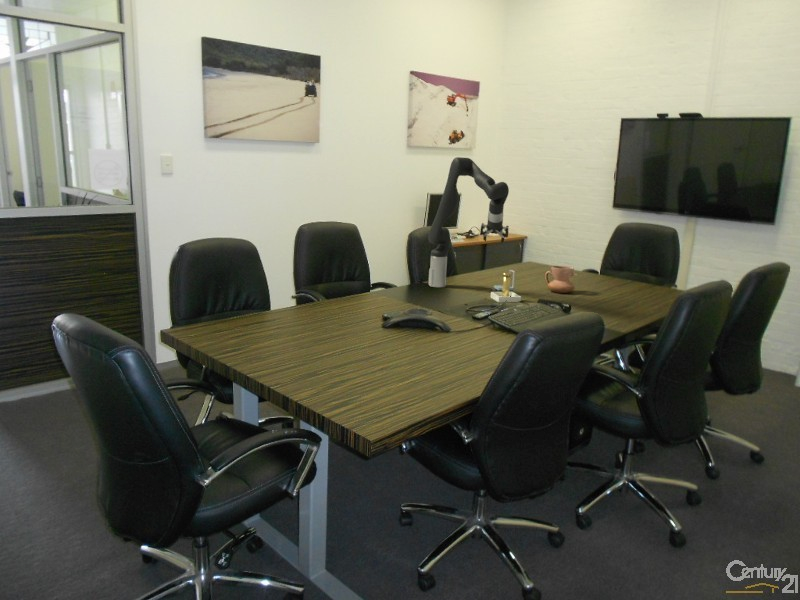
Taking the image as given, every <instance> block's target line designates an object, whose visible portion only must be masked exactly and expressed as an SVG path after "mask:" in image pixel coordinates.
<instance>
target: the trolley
mask: <svg viewBox="0 0 800 600" xmlns="http://www.w3.org/2000/svg"><path fill="white" fill-rule="evenodd" d="M508 273H512V276H511V277H512V279H511V277H510V281H512V285H510V291H509V292H514V293H515V294H516V292H515V288H516V287H515V281H516V278H515V277H516V271H515V270H513V269H509V271H508ZM502 290H503V284H502V285H501V284H498V285H493V290H492V292H502Z"/></svg>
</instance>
